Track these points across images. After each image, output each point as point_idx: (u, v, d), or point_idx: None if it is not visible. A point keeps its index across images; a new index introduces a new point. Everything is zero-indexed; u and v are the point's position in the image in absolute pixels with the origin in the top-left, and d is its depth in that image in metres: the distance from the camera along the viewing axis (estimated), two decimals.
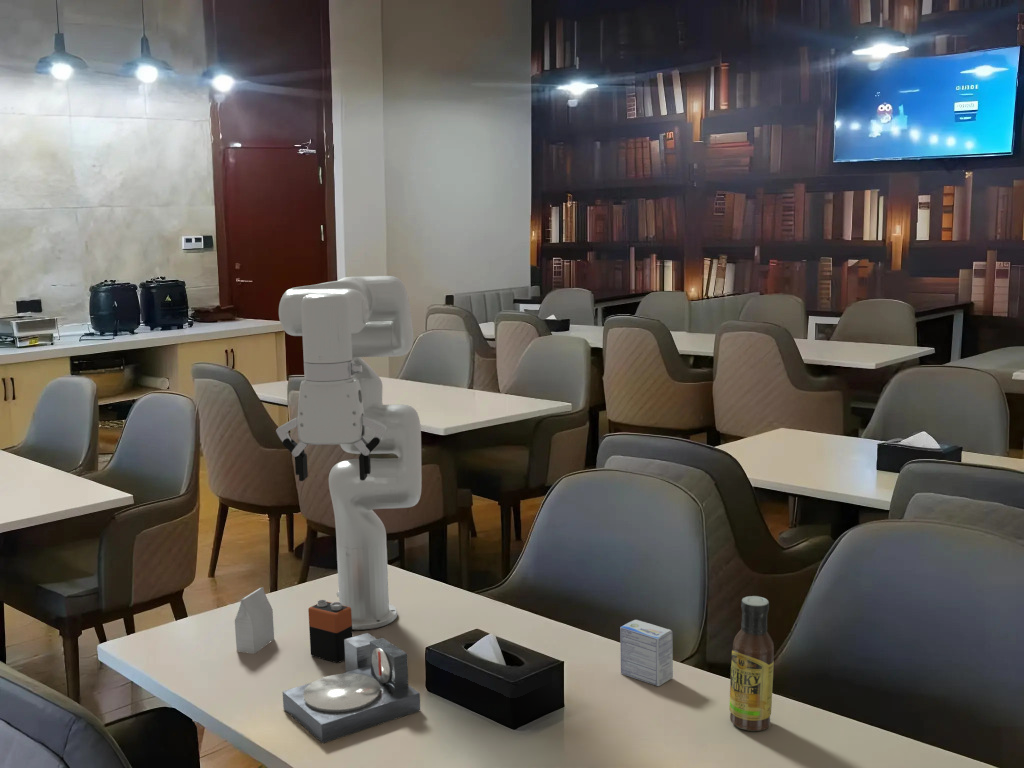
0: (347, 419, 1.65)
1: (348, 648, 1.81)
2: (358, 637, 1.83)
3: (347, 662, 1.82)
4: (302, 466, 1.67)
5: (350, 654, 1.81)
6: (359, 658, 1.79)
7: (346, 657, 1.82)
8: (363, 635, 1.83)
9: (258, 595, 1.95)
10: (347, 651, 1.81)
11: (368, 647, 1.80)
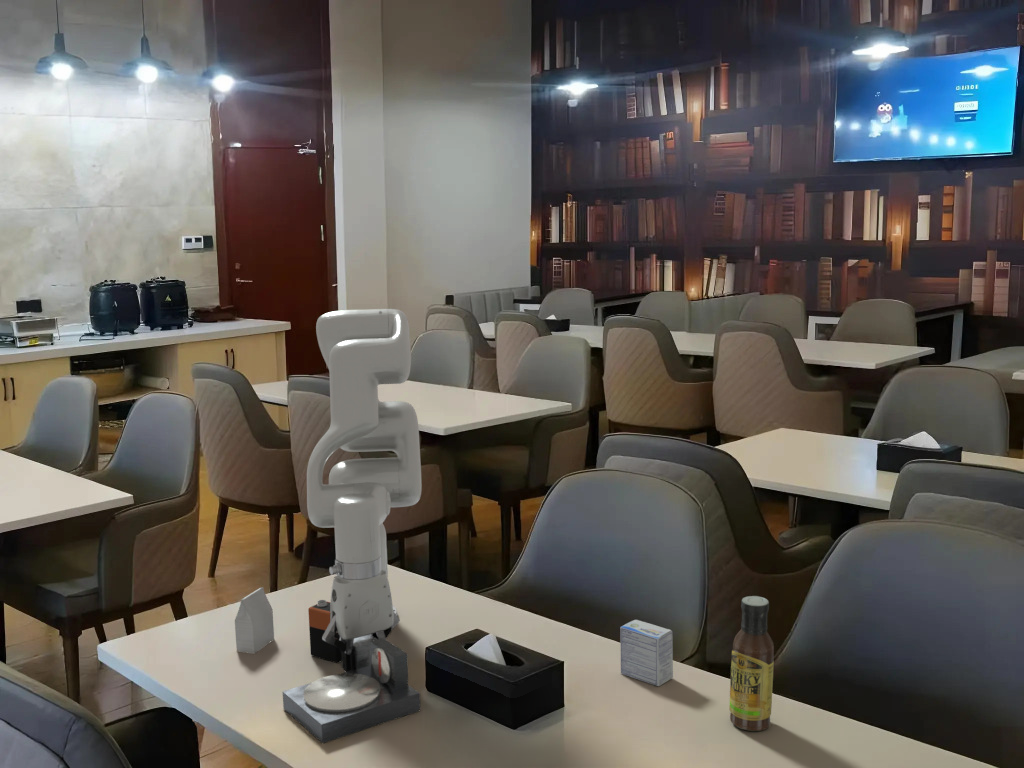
0: None
1: None
2: (358, 637, 1.82)
3: None
4: None
5: None
6: (359, 658, 1.79)
7: None
8: None
9: (258, 595, 1.95)
10: None
11: (368, 647, 1.80)
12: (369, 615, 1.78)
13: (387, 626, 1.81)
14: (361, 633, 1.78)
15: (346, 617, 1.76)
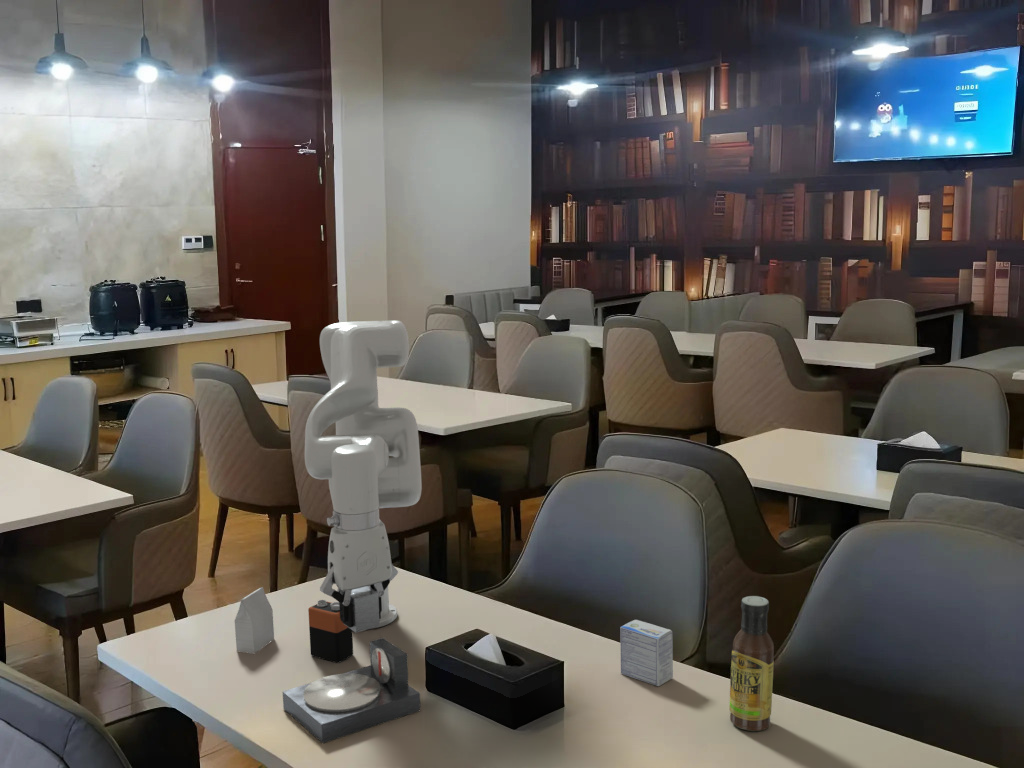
0: None
1: None
2: (356, 589, 1.82)
3: None
4: None
5: None
6: (357, 609, 1.78)
7: None
8: (361, 587, 1.82)
9: (258, 595, 1.95)
10: None
11: (366, 598, 1.79)
12: (367, 566, 1.77)
13: (385, 577, 1.80)
14: (359, 584, 1.77)
15: (344, 568, 1.75)
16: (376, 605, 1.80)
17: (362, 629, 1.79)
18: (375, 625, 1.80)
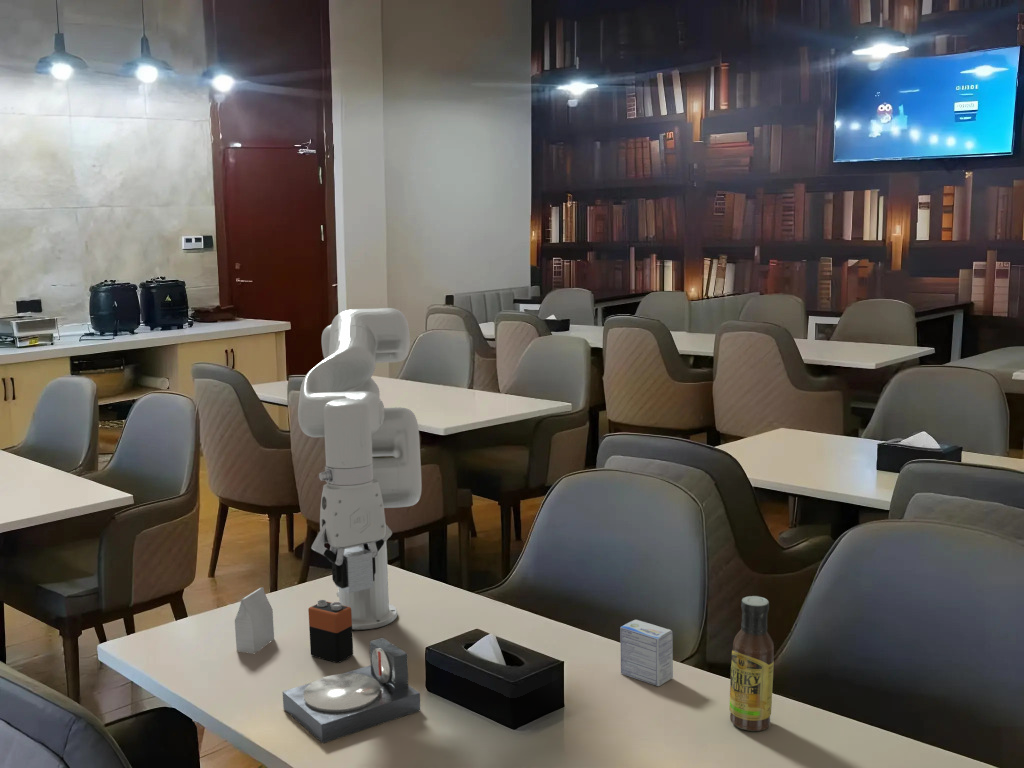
0: None
1: None
2: (349, 549, 1.76)
3: None
4: None
5: None
6: (350, 568, 1.72)
7: None
8: (354, 548, 1.77)
9: (258, 595, 1.95)
10: None
11: (359, 558, 1.73)
12: (360, 524, 1.72)
13: (379, 536, 1.74)
14: (352, 542, 1.71)
15: (336, 524, 1.70)
16: (370, 565, 1.74)
17: (355, 590, 1.73)
18: (369, 586, 1.75)
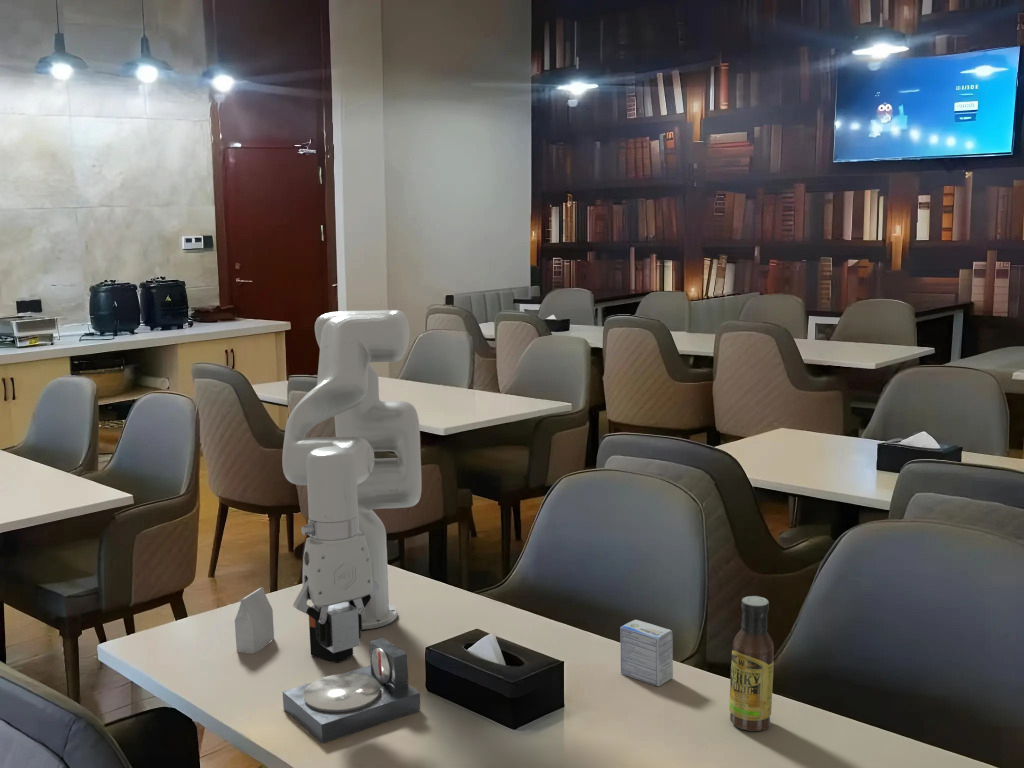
0: None
1: None
2: (334, 605, 1.66)
3: None
4: None
5: None
6: (335, 627, 1.62)
7: None
8: (339, 603, 1.67)
9: (258, 595, 1.95)
10: None
11: (344, 615, 1.63)
12: (345, 580, 1.62)
13: (365, 592, 1.64)
14: (336, 599, 1.61)
15: (319, 582, 1.60)
16: (355, 623, 1.65)
17: (340, 649, 1.63)
18: (354, 645, 1.65)
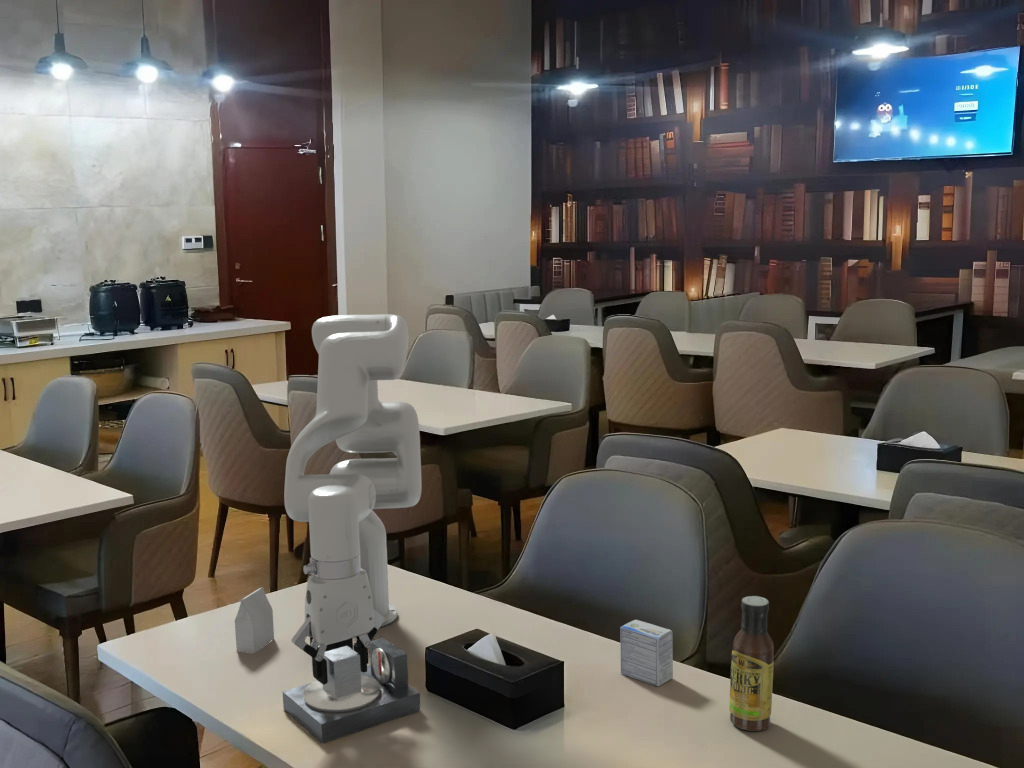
0: None
1: None
2: (336, 650, 1.68)
3: None
4: None
5: (327, 668, 1.66)
6: (337, 673, 1.64)
7: None
8: (342, 648, 1.68)
9: (258, 595, 1.95)
10: None
11: (346, 661, 1.65)
12: (347, 618, 1.63)
13: (367, 630, 1.66)
14: (338, 637, 1.63)
15: (322, 620, 1.61)
16: (358, 668, 1.66)
17: (342, 695, 1.65)
18: (357, 690, 1.66)
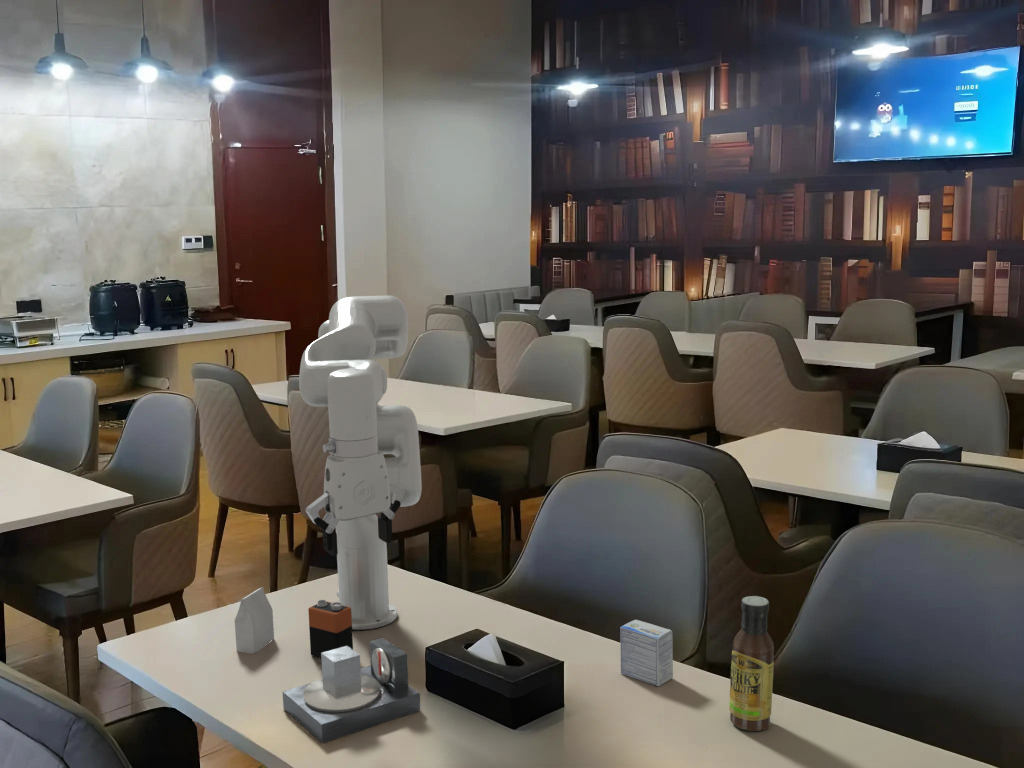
0: None
1: (325, 663, 1.66)
2: (336, 650, 1.68)
3: (324, 677, 1.67)
4: (378, 525, 1.77)
5: (327, 668, 1.66)
6: (337, 673, 1.64)
7: (323, 672, 1.67)
8: (342, 648, 1.68)
9: (258, 595, 1.95)
10: (324, 666, 1.66)
11: (346, 661, 1.65)
12: (364, 496, 1.70)
13: (383, 508, 1.72)
14: (356, 514, 1.69)
15: (340, 497, 1.67)
16: (358, 668, 1.66)
17: (342, 695, 1.65)
18: (357, 690, 1.66)
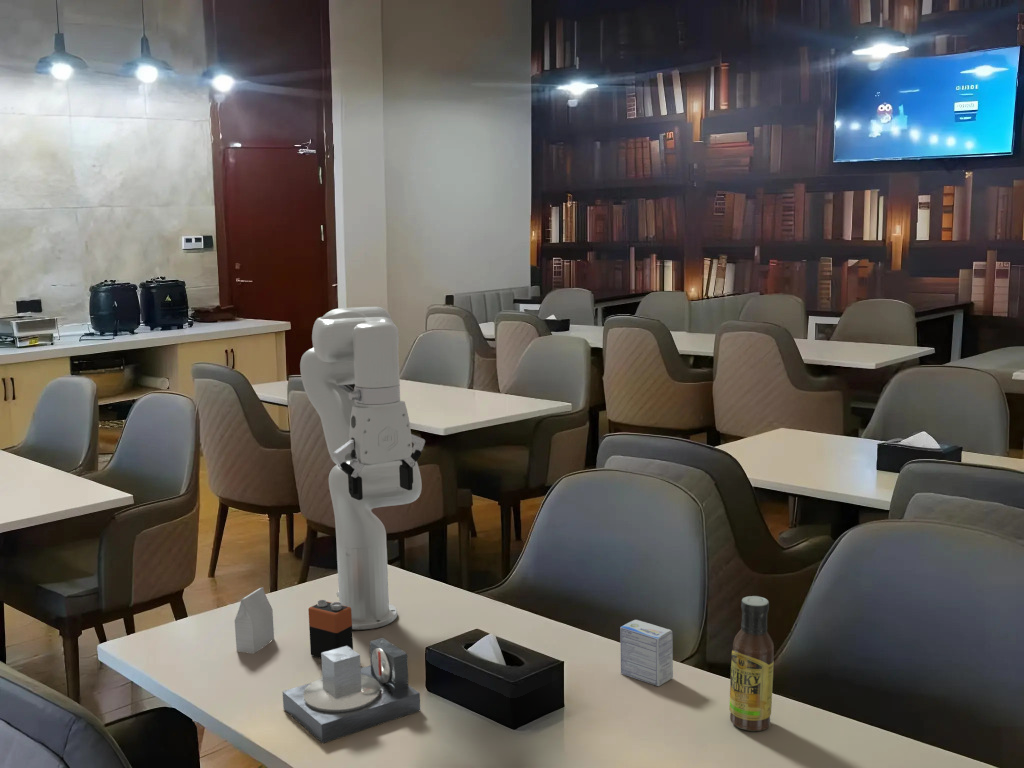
0: None
1: (325, 663, 1.66)
2: (336, 650, 1.68)
3: (324, 677, 1.67)
4: (400, 474, 1.86)
5: (327, 668, 1.66)
6: (337, 673, 1.64)
7: (323, 672, 1.67)
8: (342, 648, 1.68)
9: (258, 595, 1.95)
10: (324, 666, 1.66)
11: (346, 662, 1.65)
12: (388, 442, 1.79)
13: (405, 455, 1.81)
14: (380, 459, 1.78)
15: (365, 442, 1.76)
16: (358, 668, 1.66)
17: (342, 695, 1.65)
18: (357, 690, 1.66)
